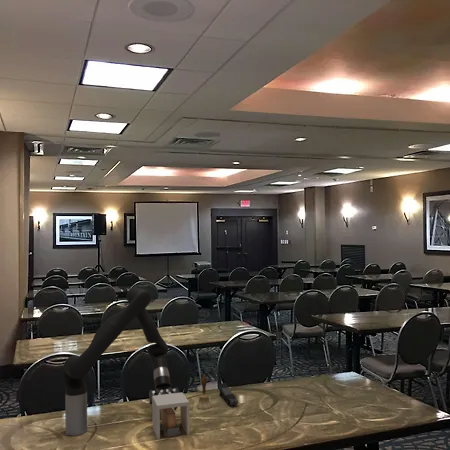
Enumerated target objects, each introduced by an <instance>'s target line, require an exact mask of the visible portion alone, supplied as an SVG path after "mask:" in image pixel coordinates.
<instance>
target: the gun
mask: <svg viewBox="0 0 450 450" xmlns="http://www.w3.org/2000/svg"><path fill="white" fill-rule="evenodd" d="M217 389H218V390H219V396H220V397H222V398H223V400H224V401H226V402H227V404H228V406H230V407H231V408H234V407H237V405H238V403H239V399H237V397H236V395H235V394H234V393H233V392H232V390H231V389H230V388H229V385H228V384H227V383H226V382H221V383H217Z"/></svg>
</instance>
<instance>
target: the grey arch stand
mask: <svg viewBox="0 0 450 450" xmlns="http://www.w3.org/2000/svg"><path fill="white" fill-rule="evenodd" d="M151 405H152V406H151V407H152V409H151V410H152V411H151V412H152V415H151V416H152V423H151V424H152V429H153V431H154V434H155V437H156V439H157V440H160V439H161V430H162V433H163V435H164V437H174V436H180V435H181V434H182V433H181V429H180V427H179V425H178V424H177V422H176V421H175V426H176V428H169V429H167V431H166V429H165V427H164V425H163V423H161V422H160V421H161V409H164V408H172V409H173V408H174V407H177V408H179V407H180V411H179V413H180V415H179V416H180V425H181V427H182V428H183V430H184V431H185V433H186V435H190V434H191V433H190V430H191V429H190V401H189V400H188V398H187V397H186V396H185V394H184V393H183V392H179V393H172V394H164V395H156V394H154V395H153V396H152V404H151ZM160 429H161V430H160Z"/></svg>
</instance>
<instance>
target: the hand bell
mask: <svg viewBox="0 0 450 450" xmlns="http://www.w3.org/2000/svg"><path fill="white" fill-rule="evenodd" d="M206 376H207V375H206V374H202V377H201V386H202V394H201V395H199V399H198V403H197V404H196V405H195V408H197V409H199V410H207V409H211V408H213V404H212V403H211V402H210V397H209V395H208V394H207V393H206V391H207V390H206V388H207V387H206V386H207V382H208V381H207V377H206Z"/></svg>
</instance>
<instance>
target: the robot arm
mask: <svg viewBox="0 0 450 450" xmlns="http://www.w3.org/2000/svg"><path fill="white" fill-rule="evenodd" d="M126 300H127V303H128V304H127V306H126V307H124V309H122V310H121V311H119V312H117V313H115V314H113V315H112V316H110V317H108V318H107V319H106V320H105V321H104V322H103V323H102V324H101V325H100V327H99V328H98V329H97V330H96V332H95V334H94V335H93V338H92V340H91V342H90V343H89V346H88V347H86V349H85V350H84V351H83V352H82V353H81V354H80V355H77V354H74V355H70V356H69V357H67V358H65V360H64V364H63V369H62V370H63V371H62V374H63V376H62V377H63V387H64V391H65V392H64V393H65V413H64V416H65V418H64V419H65V426H64V427H65V436H73V437H74V436H81V435H83V434H85V433H87V432H88V387H87V384H86V382H85V376H87V375H88V374H89V372H90V371H91V370H92V368H93V366H95V364H96V363H97V361H98V360H99V359H100V357H101V356H102V355H103V354H104V352H106V351H107V349H108V348H109V347H110V346H111V345H112V344H113V343H114V342H115V341H116V340H117V339H118V337H119V336H120V335H121V334H122V332H123V331H124V330H125V329H126V328H127V327H128V326H129V325H130V324H131V323H132V321H133V320H134V319H135V318H137V321H138V323H139V325H140V328H141V329H142V332H143V335H144V337H145V339H146V342H147V343H149V345H148V346H147V348H146V352H147V354H148V356H149V358H150V360H151V364H152V369H153V382H154V389H155V390H152V389H149V393H148V395H149V396H148V397H149V404H150V405H152V396H155V395H164V394H172V392H174V393H180V391H179V387H177V386H176V387H175V388H172V384H171V378H170V372H169V368H168V362H167V359H166V358H165V357H162V356H166V355H167V354H168V353H169V345H168V344H167V342H166V341H165V340H164V339H163V337H162V336H161V334H160V331H159V329H158V327H157V325H156V322H155V321H154V319H153V317H151V315H150V313H149V312H148V311H147V307H148V305H149V304H150V303H151V301H152V294H151V293H150V291H149V290H147V289H144V288H141V287H136V286H135V287H130V289H128V291H127V293H126ZM177 409H178V407H173V410H174V411H176V410H177Z"/></svg>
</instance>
